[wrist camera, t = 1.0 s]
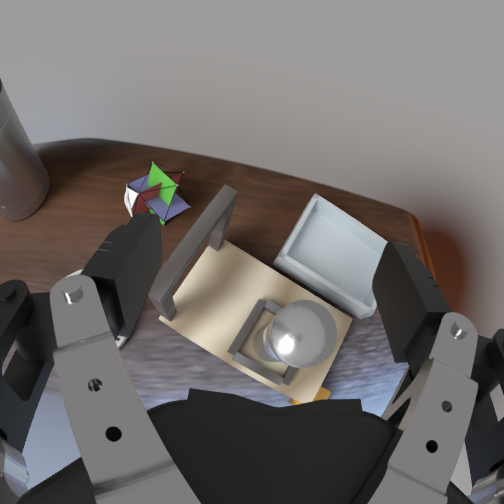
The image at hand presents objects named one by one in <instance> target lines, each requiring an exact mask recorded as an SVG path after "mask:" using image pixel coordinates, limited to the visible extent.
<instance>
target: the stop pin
mask: <svg viewBox="0 0 504 504" xmlns="http://www.w3.org/2000/svg"><path fill="white" fill-rule="evenodd" d="M336 342H337V327H336V323H335V320H334V318H333V316H332V315H331V313H330V312H329V311H328V310H327V309H326V308H325V307H324V306H322V305H321V304H319V303H317V302H315V301H311V300H297V301H294V302H292V303H290V304H288V305H286V306H285V307H283V308H282V309H280V310H279V311H278V312H277V313H276V314H275V316H274V317H273V319H272V321H271V322H270V323H268V324H266V325H264V326H262V327H261V328H259V329H258V330H257V331H256V333H255V335H254V337H253V349H254V352H255V353H256V355H257V356H258V357H259V358H260V359H262V360H263V361H266V362H283V363H285V364H287V365H289V366H292V367H297V368H308V367H314V366H317V365H319V364H321V363H322V362H324V361H325V360H326V359H327V358H328V357H329V356H330V355H331V353H332V352H333V350H334V348H335V345H336Z"/></svg>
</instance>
